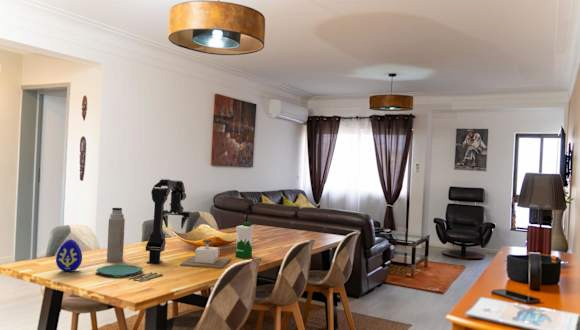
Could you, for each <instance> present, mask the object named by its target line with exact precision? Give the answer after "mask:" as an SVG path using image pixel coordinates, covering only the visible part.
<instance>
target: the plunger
mask: <svg viewBox="0 0 580 330" xmlns="http://www.w3.org/2000/svg"><path fill="white" fill-rule="evenodd" d="M202 240H203V243H206V244H205V247H206V249H208V247H209V243H212V241H213V240H212V239H207V238H205V239H202Z"/></svg>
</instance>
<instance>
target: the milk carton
mask: <svg viewBox="0 0 580 330" xmlns="http://www.w3.org/2000/svg"><path fill="white" fill-rule="evenodd" d="M254 227H255V226H253V225H251V222H249V221H248V222H247V221H244V222H243V225H237V226H236V227H235V229H236V244H235V245H236V246H235V256H234V257H235V258H240V259H249V258H252V257H253V234H254Z"/></svg>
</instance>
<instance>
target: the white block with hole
mask: <svg viewBox="0 0 580 330" xmlns="http://www.w3.org/2000/svg"><path fill="white" fill-rule="evenodd" d="M194 251H195V252H194V253H195V254H194V256H195V262H199V263H214V262H216V261H217V260H218V257H219V247H218V246H217V247H214V246H208V249H206V246H204V245H203V246H202V245H201V246H199V247H197V248H196V249H195V250H194Z"/></svg>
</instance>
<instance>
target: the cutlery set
mask: <svg viewBox="0 0 580 330" xmlns="http://www.w3.org/2000/svg"><path fill="white" fill-rule="evenodd" d="M143 270H144V269H143V268H142V267H139V266H137V265H130V264H125V263H123V264H122V263H121V264H112V265H105V266H102V267H98V268H97V269H96V271H95V274H99V275H101V276H107V277H108V276H109V277H114V278H123V277H127V276H128V277H129V276H132V277H129V278H128V280H133V281H135V282H136V281H137V282H138V283H139V282H140V283H143V282H146V281H150V280H151V279H152V280H153V279H155V278H159V277H162V276H163V273H160V274H158V272H154V273H153V272H152V271H151V272H148V273H143V272H144V271H143ZM140 272H142V273H143V274H139V273H140ZM137 274H139V275H137ZM133 275H136V276H133ZM151 276H152V277H151Z"/></svg>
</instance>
